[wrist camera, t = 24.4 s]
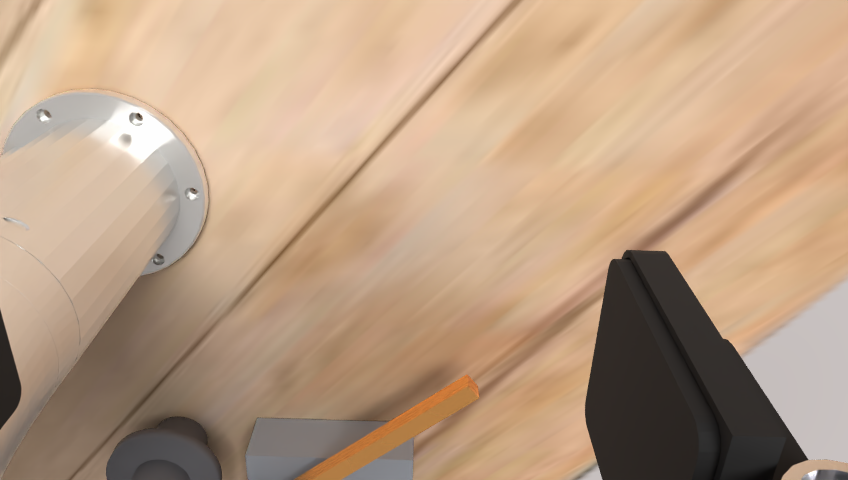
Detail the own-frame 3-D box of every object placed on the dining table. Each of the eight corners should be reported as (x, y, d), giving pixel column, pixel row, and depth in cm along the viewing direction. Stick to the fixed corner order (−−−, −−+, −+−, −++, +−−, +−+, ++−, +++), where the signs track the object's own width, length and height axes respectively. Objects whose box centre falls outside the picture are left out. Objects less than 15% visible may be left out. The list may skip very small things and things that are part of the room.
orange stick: (261, 513, 53) (255, 537, 51) (240, 495, 52) (233, 519, 50) (481, 381, 47) (483, 402, 45) (461, 360, 47) (463, 380, 45)
